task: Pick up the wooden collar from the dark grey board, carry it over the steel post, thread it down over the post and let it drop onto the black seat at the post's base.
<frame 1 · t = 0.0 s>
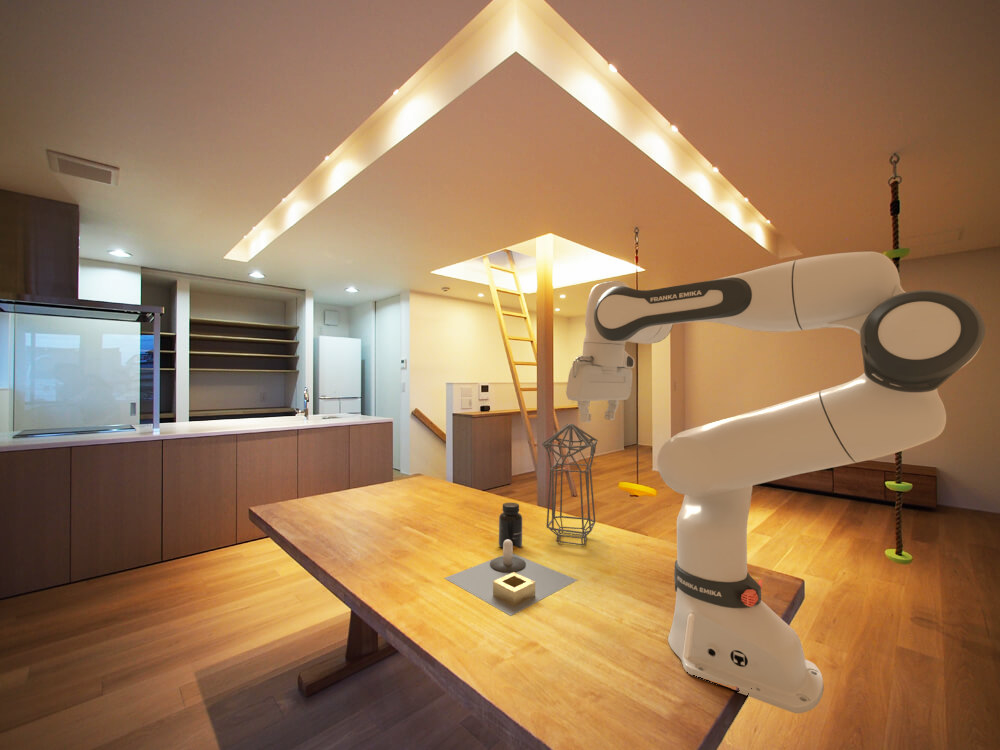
hand: (597, 420, 90), 39 cm above the table, tool pointing down, fingers open, 8 cm apart
wooden collar: (514, 595, 88), point 1 cm above the table, touching post board
geometric lantern: (571, 540, 125), on the table
post board: (510, 585, 96), on the table
supplement bottle: (510, 546, 120), on the table
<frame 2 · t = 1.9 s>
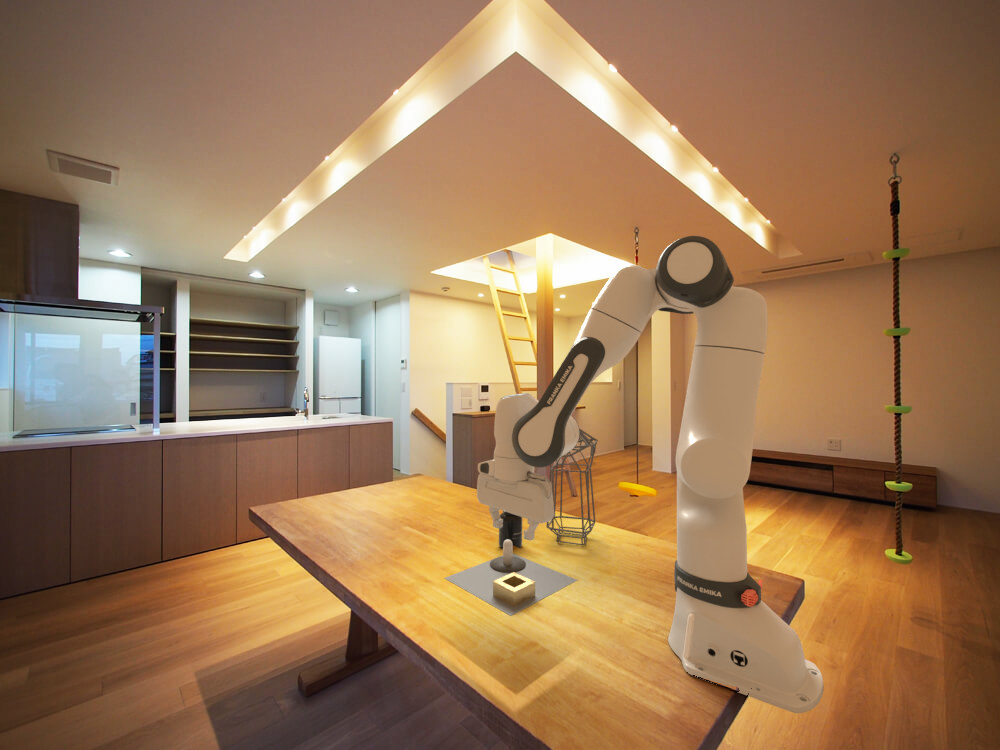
hand: (512, 533, 89), 15 cm above the table, tool pointing down, fingers open, 8 cm apart
nothing on the table moved.
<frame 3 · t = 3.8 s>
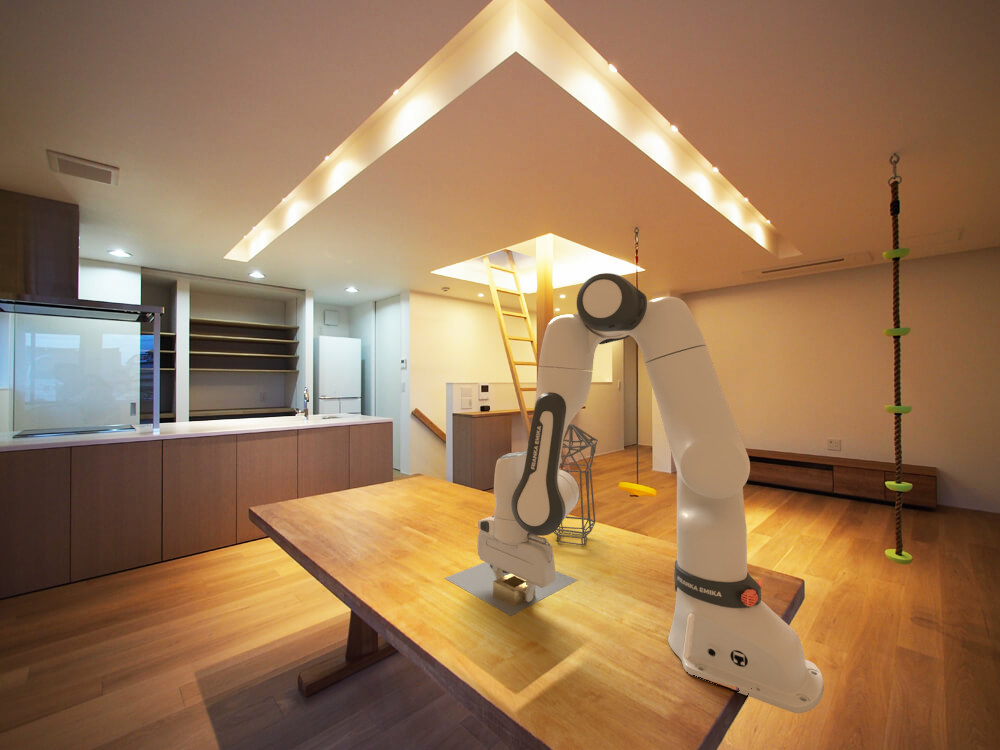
hand: (514, 592, 88), 2 cm above the table, tool pointing down, fingers closed on wooden collar, 6 cm apart
wooden collar: (514, 595, 88), point 1 cm above the table, touching gripper, post board
everything else where it was.
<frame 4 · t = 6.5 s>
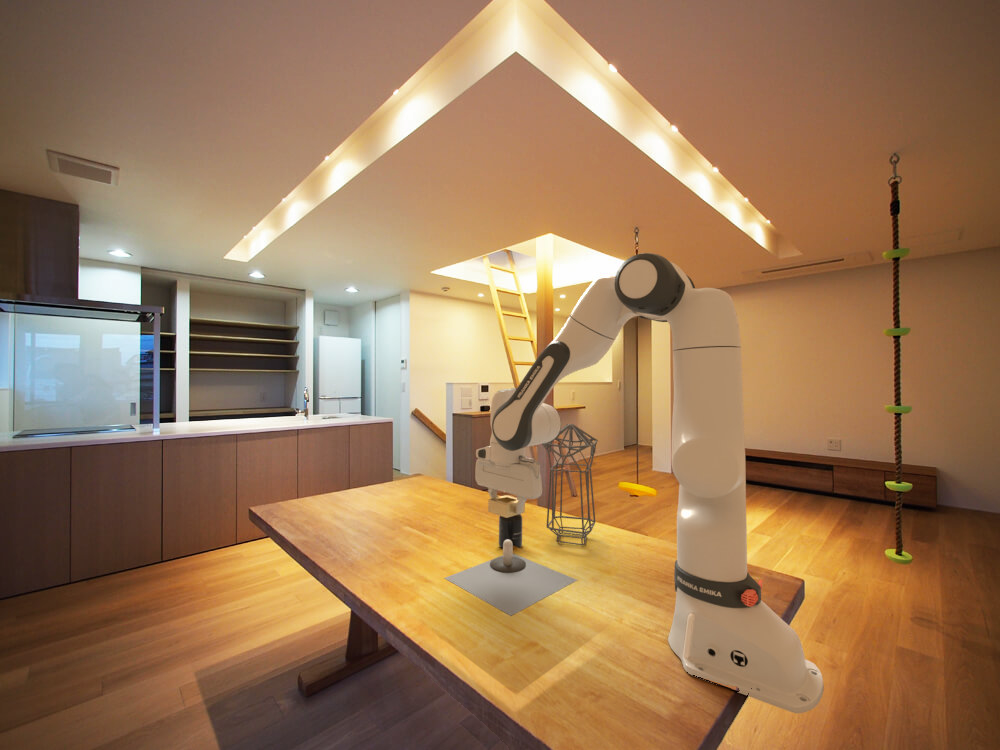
hand: (506, 509, 102), 16 cm above the table, tool pointing down, fingers closed on wooden collar, 6 cm apart
wooden collar: (506, 512, 102), point 15 cm above the table, touching gripper
everything else where it was.
when the fingers open (5 cm above the table, at t = 9.4 s): wooden collar drops 2 cm, resting on post board.
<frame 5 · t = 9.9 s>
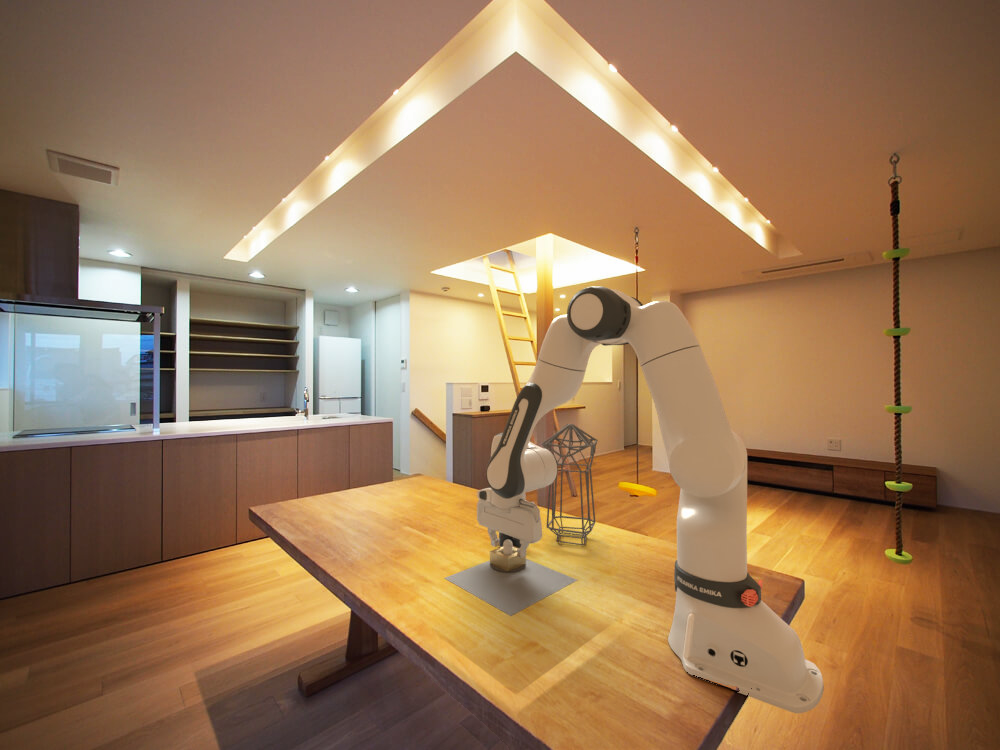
hand: (508, 551, 104), 5 cm above the table, tool pointing down, fingers open, 8 cm apart
wooden collar: (507, 563, 104), point 2 cm above the table, touching post board
everything else where it was.
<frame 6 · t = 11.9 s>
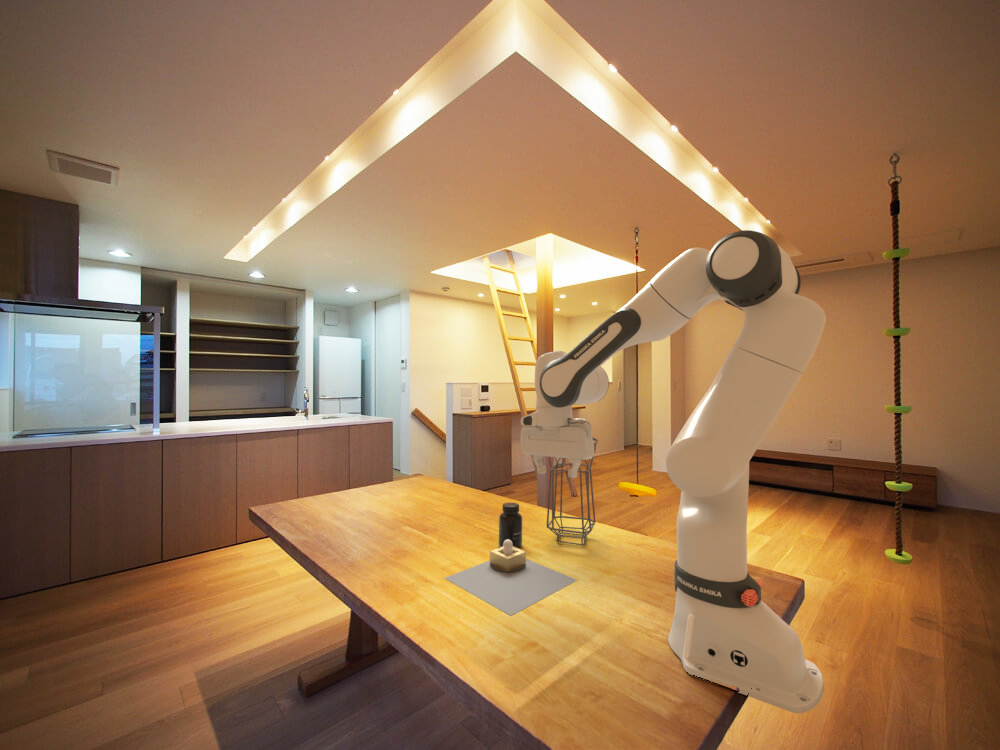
hand: (556, 475, 100), 25 cm above the table, tool pointing down, fingers open, 8 cm apart
nothing on the table moved.
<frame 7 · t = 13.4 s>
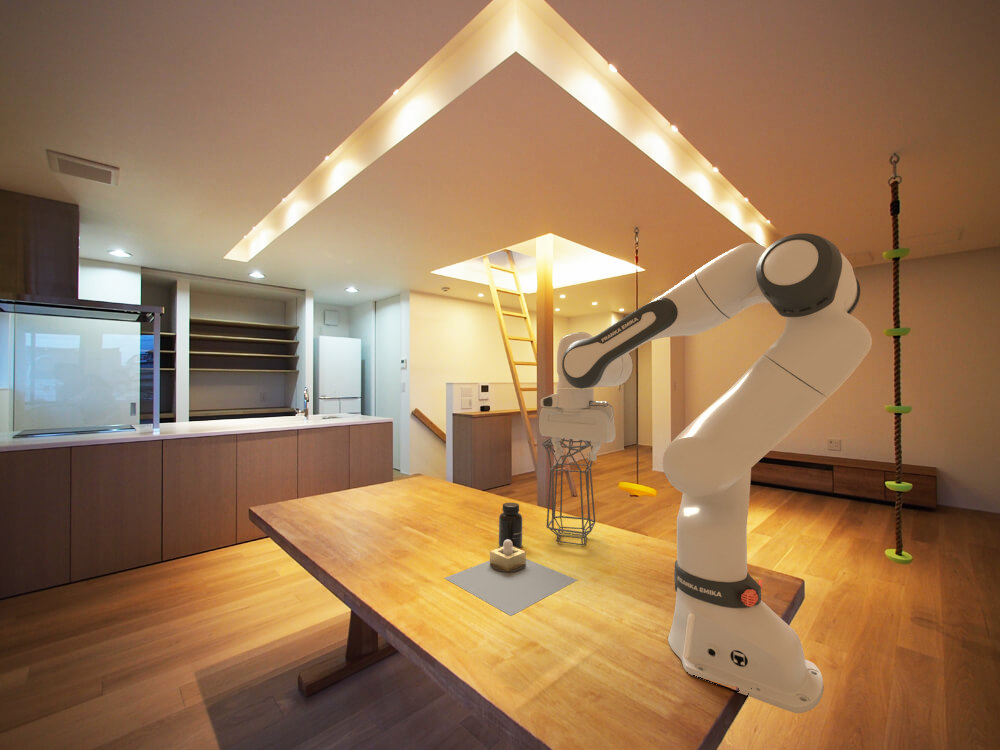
hand: (575, 458, 99), 29 cm above the table, tool pointing down, fingers open, 8 cm apart
nothing on the table moved.
at the end: wooden collar 0.1 cm from the target spot on the post board, point 1.8 cm above the post board's base; wooden collar tilted 0°; the gripper is holding nothing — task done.
